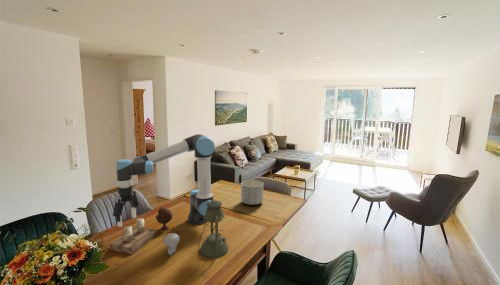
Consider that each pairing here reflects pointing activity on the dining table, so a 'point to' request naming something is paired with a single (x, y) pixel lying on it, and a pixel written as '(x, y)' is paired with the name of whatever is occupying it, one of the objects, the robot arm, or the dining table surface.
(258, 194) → the planter
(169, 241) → the grey light bulb
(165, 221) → the ice cream bowl
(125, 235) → the peg
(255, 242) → the dining table surface
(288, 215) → the dining table surface
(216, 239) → the lantern
